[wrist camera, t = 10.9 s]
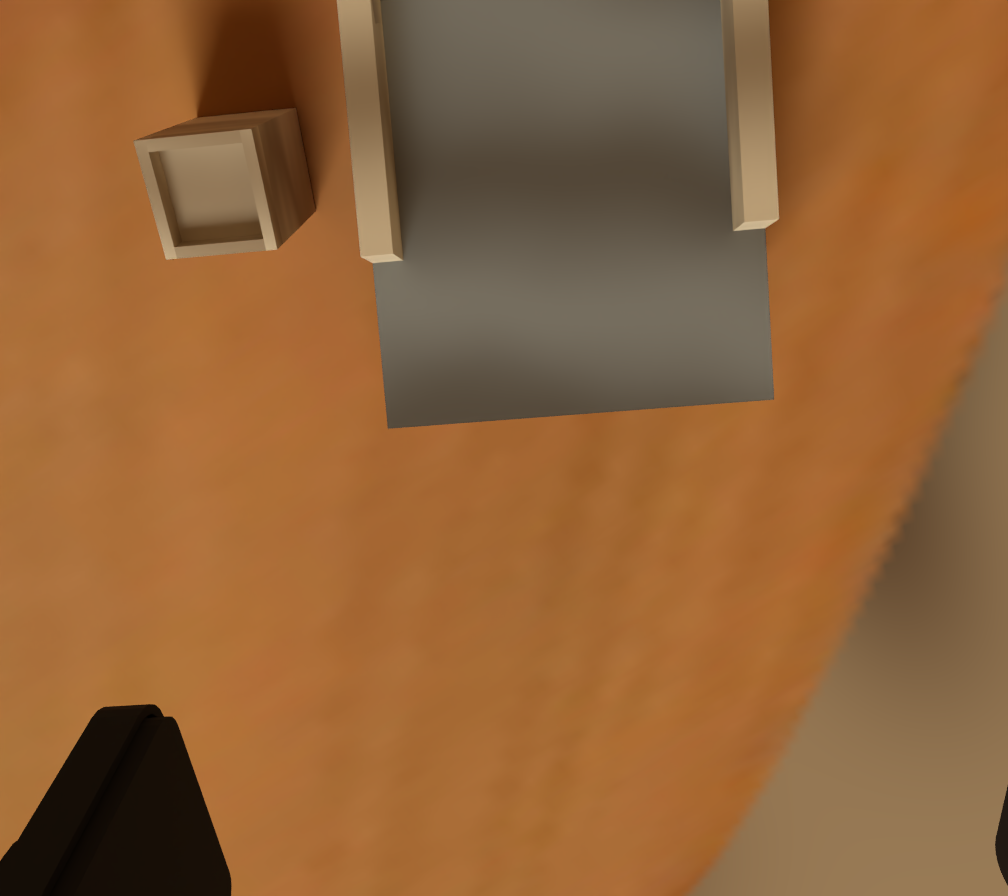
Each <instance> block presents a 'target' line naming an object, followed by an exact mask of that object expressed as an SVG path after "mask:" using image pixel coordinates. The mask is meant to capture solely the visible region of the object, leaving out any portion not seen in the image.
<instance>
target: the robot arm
mask: <svg viewBox="0 0 1008 896" xmlns="http://www.w3.org/2000/svg"><path fill="white" fill-rule="evenodd" d="M995 846H996V847H995V848H996V856H997V861H998V864H999V867H1000V870H1001V873H1002V875H1003V877H1004V879H1005V881H1006V883H1007V885H1008V787H1007V791H1006V796H1005V800H1004V804H1003V809H1002V813H1001V818H1000V822H999V826H998V831H997V835H996V843H995ZM0 896H231V877H230V872H229V869H228V867H227V864H226V861H225V858H224V855H223V852H222V849H221V847H220V844H219V841H218V838H217V835H216V832H215V829H214V827H213V824H212V821H211V818H210V815H209V812H208V809H207V807H206V804H205V801H204V798H203V795H202V792H201V789H200V787H199V784H198V781H197V778H196V775H195V772H194V770H193V767H192V764H191V761H190V758H189V755H188V752H187V750H186V747H185V744H184V741H183V738H182V735H181V732H180V730H179V727H178V724H177V722H176V720H175V719H174V718H173V717H164V716H163V714H162V712H161V710H160V709H159V708H158V707H157V706H156V705H151V704H148V705H131V706H113V707H103V708H101V709H100V710H98V711H97V712H96V713H95V714H94V716H93V717H92V718H91V720H90V722H89V723H88V725H87V727H86V728H85V730H84V732H83V733H82V735H81V737H80V738H79V740H78V742H77V743H76V745H75V746H74V748H73V750H72V751H71V753H70V755H69V756H68V758H67V760H66V761H65V763H64V765H63V766H62V768H61V770H60V771H59V773H58V775H57V776H56V778H55V780H54V781H53V783H52V784H51V786H50V788H49V789H48V791H47V793H46V794H45V796H44V798H43V799H42V801H41V803H40V804H39V806H38V808H37V809H36V811H35V813H34V814H33V816H32V818H31V819H30V821H29V822H28V824H27V826H26V827H25V829H24V831H23V832H22V834H21V836H20V837H19V839H18V841H16V842H15V843H13V845H12V846H11V847H10V849H9V850H8V851H7V853H6V854H5V855H4V856H3V858H2V859H1V861H0Z"/></svg>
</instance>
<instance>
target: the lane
mask: <svg viewBox="0 0 1008 896" xmlns="http://www.w3.org/2000/svg"><path fill="white" fill-rule="evenodd" d="M337 8H338V19H339V29H340V40H341V51H342V62H343V73H344V83H345V94H346V105H347V116H348V127H349V137H350V148H351V159H352V170H353V181H354V191H355V202H356V213H357V224H358V234H359V245H360V256H361V257H362V258H364V259H366V260H368V261H370V262H372V263H373V271H374V282H375V293H376V304H377V315H378V326H379V337H380V347H381V358H382V369H383V380H384V391H385V402H386V413H387V424H388V429H389V428H402V427H416V426H429V425H442V424H455V423H468V422H482V421H495V420H508V419H521V418H535V417H548V416H561V415H574V414H588V413H601V412H614V411H627V410H641V409H654V408H667V407H680V406H694V405H707V404H720V403H733V402H747V401H760V400H773V399H774V388H773V369H772V350H771V330H770V311H769V291H768V272H767V253H766V233H765V228H766V227H768V226H769V225H771V224H772V223H774V222H775V221H777V220H778V219H779V208H778V188H777V168H776V148H775V128H774V108H773V88H772V69H771V49H770V29H769V9H768V0H337Z"/></svg>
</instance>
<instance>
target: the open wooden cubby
mask: <svg viewBox="0 0 1008 896" xmlns="http://www.w3.org/2000/svg"><path fill="white" fill-rule="evenodd" d="M134 145H135V148H136V152H137V156H138V159H139V163H140V166H141V170H142V174H143V177H144V181H145V185H146V188H147V192H148V196H149V199H150V203H151V206H152V210H153V214H154V217H155V221H156V225H157V228H158V232H159V236H160V239H161V243H162V246H163V250H164V254H165V257H166V260H167V259H178V258H189V257H200V256H211V255H222V254H233V253H244V252H255V251H266V250H277V249H278V248H279V247H280V246H281V245H282V244H283V243H284V242H285V241H286V240H287V239H288V238H289V237H290V236H291V235H292V234H293V233H294V232H295V231H296V230H297V229H298V228H299V227H300V226H301V225H302V224H303V223H304V222H305V221H306V220H307V219H308V218H309V217H310V216H311V215H312V214H313V213H314V212H315V211H316V209H315V204H314V199H313V193H312V188H311V183H310V178H309V173H308V167H307V162H306V157H305V152H304V147H303V141H302V136H301V131H300V126H299V121H298V115H297V110H296V108H287V109H277V110H268V111H258V112H248V113H238V114H228V115H219V116H209V117H199V118H194V119H192V120H189V121H186V122H183V123H181V124H178V125H175V126H173V127H170V128H167V129H164V130H162V131H159V132H156V133H153V134H151V135H148V136H145V137H142V138H140V139H137V140H134Z"/></svg>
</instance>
